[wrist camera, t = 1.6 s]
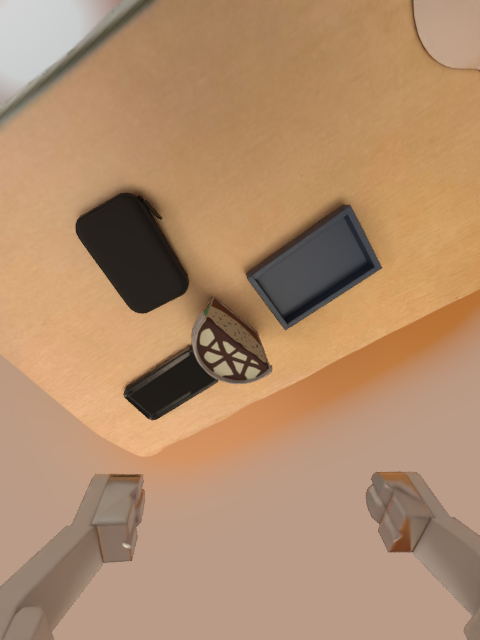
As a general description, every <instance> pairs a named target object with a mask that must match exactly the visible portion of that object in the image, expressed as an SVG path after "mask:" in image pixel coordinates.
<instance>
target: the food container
mask: <svg viewBox="0 0 480 640" xmlns="http://www.w3.org/2000/svg"><path fill="white" fill-rule="evenodd" d="M192 346H193V350H194V354H195V357H196V359H197V361H198V362H199V364H200V365H201V367H202V368H203V369H204V370H205V371H206V372H207V373H208V374H209V375H211V376H212V377H214V378H215V379H217V380H220V381H222V382H226V383H231V384H246V383H251V382H255V381H258V380H260V379H262V378H264V377H266V376H267V375H269V374H270V373H271V372H272V365H269V362H268V360H267V357H266V354H265V351H264V349H263V346H262V343H261V340H260V338H259V335H258V333H257V332H256V331H255V330H254V329H253V328H251V327H250V326H249V325H248V324H247V323H245V322H244V321H243V320H242V319H241V318H239V317H238V316H237V315H236V314H235V313H233V312H232V311H231V310H230V309H229V308H227V307H226V306H225V305H224V304H223V303H221V302H220V301H219V300H218V299H217V298H215V297H214V296H213V297H212V298H211V299H210V301H209V302H208V305H207V307H206V310H205V312H204V311H203V310H202V312H201V313H200V314H199V316H198V317H197V319H196V321H195V323H194V326H193V329H192Z"/></svg>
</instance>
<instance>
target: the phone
mask: <svg viewBox="0 0 480 640" xmlns="http://www.w3.org/2000/svg"><path fill="white" fill-rule="evenodd" d="M217 382H218V380H217V379H215V378H214V377H212V376H211V375H209V374H208V373H207V372H206V371H205V370H204V369H203V368H202V367H201V365H200V364H199V362H198V361H197V359H196V357H195V354H194V350H193V346H190V347H187V348H186V349H184V350H183V351H181V352H180V353H178V354H177V355H175V356H173V357H172V358H170V359H169V360H167V361H166V362H164V363H163V364H161V365H160V366H158V367H156V368H155V369H153V370H152V371H150V372H149V373H147V374H146V375H144V376H143V377H141V378H140V379H138V380H136V381H135V382H133V383H132V384H130V385H129V386H127V387H126V389H125V391H124V397H125V398H126V399H127V400H128V401H129V402H130V403H131V404H132V405H133V406H135V407H136V408H137V409H138V410H139V411H140V412H141V413H142V414H143V415H145V416H146V417H147V418H148V419H150V420H156V419H158V418H160V417H161V416H163V415H165V414H166V413H168V412H170V411H171V410H173V409H175V408H176V407H178V406H180V405H181V404H183V403H184V402H186V401H188V400H189V399H191V398H193V397H194V396H196V395H198V394H199V393H201V392H203V391H204V390H206V389H208V388H209V387H211V386H213V385H214V384H216V383H217Z"/></svg>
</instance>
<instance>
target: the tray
mask: <svg viewBox="0 0 480 640" xmlns="http://www.w3.org/2000/svg"><path fill="white" fill-rule="evenodd" d="M380 269H382V267H381V265H380V263H379V261H378V259H377V257H376V255H375V253H374V251H373V249H372V247H371V245H370V243H369V241H368V239H367V237H366V235H365V233H364V231H363V229H362V227H361V225H360V223H359V221H358V219H357V217H356V215H355V213H354V211H353V209H352V207H351V206H350V205H344V204H343V205H342V206H340V207H339V208H337V209H336V210H335V211H333V212H332V213H330V214H329V215H327V216H326V217H325V218H323V219H322V220H320V221H319V222H318V223H316V224H315V225H313V226H312V227H311V228H309V229H308V230H306V231H305V232H304V233H302V234H301V235H299V236H298V237H297V238H295V239H294V240H292V241H291V242H290V243H288V244H287V245H285V246H284V247H283V248H281V249H280V250H278V251H277V252H276V253H274V254H273V255H271V256H270V257H269V258H267V259H266V260H264V261H263V262H262V263H260V264H259V265H257V266H256V267H255V268H253V269H252V270H250V271H249V272H248V273H246V276H247V279H248V280H249V282H250V283H251V284H252V286H253V287H254V288H255V290H256V291H257V293H258V294H259V295H260V297H261V298H262V299H263V301H264V302H265V303H266V305H267V306H268V307H269V309H270V310H271V312H272V313H273V314H274V316H275V317H276V318H277V320H278V321H279V322H280V324H281V325H282V327H283V328H284V329H285V330H287V329H288V328H290V327H292V326H293V325H295V324H296V323H298V322H299V321H301V320H302V319H304V318H306V317H307V316H309V315H310V314H312V313H313V312H315V311H316V310H318V309H319V308H321V307H323V306H324V305H326V304H327V303H329V302H330V301H332V300H333V299H335V298H337V297H338V296H340V295H341V294H343V293H344V292H346V291H347V290H349V289H350V288H352V287H354V286H355V285H357V284H358V283H360V282H361V281H363V280H364V279H366V278H367V277H369V276H371V275H372V274H374V273H375V272H377V271H379V270H380Z"/></svg>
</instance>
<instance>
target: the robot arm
mask: <svg viewBox="0 0 480 640" xmlns="http://www.w3.org/2000/svg"><path fill="white" fill-rule="evenodd" d="M414 17H415V23H416V28H417V31H418V34H419V37H420V40H421V42H422V44H423V46H424V47H425V49H426V50H427V52H428V53H429V54H430V55H431V56H432V57H433V58H434V59H435V60H436V61H438V62H439V63H441V64H442V65H444V66H447V67H450V68H454V69H477V70H479V71H480V0H414ZM371 480H372V482H373V484H372V485H371V486H370V487H368V489H367V492H366V503H367V507H368V510H369V512H370V514H371V517H372V518H373V519H374V520H375V521H377V522H378V523H379V528H378V532H379V534H380V536H381V538H382V540H383V542H384V544H385V546H386V548H387V550H388V552H413V555H414V556H415V557H416V558H417V559H418V560H419V561H420V562H421V563H422V564H423V565H424V566H425V567H426V568H427V569H428V570H429V571H430V572H431V573H432V575H433V576H434V577H435V578H436V579H437V580H438V581H439V582H440V583H441V584H442V585H443V586H444V587H445V588H446V589H447V590H448V591H449V592H450V593H451V594H452V595H453V596H454V597H455V598H456V599H457V600H458V601H459V603H460V604H461V605H462V606H463V607H464V608H465V609H466V610H467V611H468V612H469V613H470V614H471V615H472V618H471V619H470V620H469V622H468V623H467V624H466V626H465V627H464V634H465V635H466V637H467V639H468V640H480V536H479V535H478V534H477V533H475V532H474V531H472V530H471V529H470V528H468V527H467V526H466V525H464V524H463V523H462V522H460V521H459V520H457V519H456V518H454V517H450V516H449V515H448V513H447V512H446V510H445V509H444V508H443V506H442V505H441V503H440V502H439V501H438V499H437V498H436V496H435V495H434V494H433V492H432V491H431V490H430V488H429V487H428V485H427V484H426V482H425V481H424V480H423V478H422V477H421V476H420V475H419V474H418V473H417V472H376V473H374V474H373V476H372V478H371ZM143 482H144V480H143V475H139V474H95V475H94V477H93V478H92V480H91V482H90V484H89V486H88V489H87V491H86V493H85V496H84V498H83V500H82V502H81V505H80V507H79V509H78V511H77V514H76V516H75V518H74V520H73V523H72V525H71V526H66V527H65V528H63V529H62V530H61V531H60V532H59V533H58V534H57V535H56V536H55V537H54V538H53V539H52V540H50V541H49V542H48V543H47V544H46V545H45V546H44V547H43V548H42V549H41V550H40V551H39V552H37V553H36V554H35V555H34V556H33V557H32V558H31V559H30V560H29V561H28V562H27V563H26V564H24V565H23V566H22V567H21V568H20V569H19V570H18V571H17V572H16V573H15V574H14V575H12V576H11V577H10V578H9V579H8V580H7V581H6V582H5V583H4V584H3V585H2V586H1V587H0V640H54V638H53V635H52V631H53V630H54V628H55V627H56V626H57V624H58V623H59V622H60V620H61V619H62V618H63V617H64V615H65V614H66V613H67V611H68V610H69V609H70V607H71V606H72V605H73V603H74V602H75V601H76V599H77V598H78V597H79V596H80V594H81V593H82V592H83V590H84V589H85V588H86V586H87V585H88V584H89V583H90V581H91V580H92V578H93V577H94V576H95V574H96V573H97V572H98V571H99V570H100V568H101V567H102V566H103V563H106V562H123V561H132V558H133V554H134V550H135V546H136V541H137V526H138V525H139V524H140V523H141V520H142V515H143V510H144V502H145V491H144V490H143V489H142V486H143Z"/></svg>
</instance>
